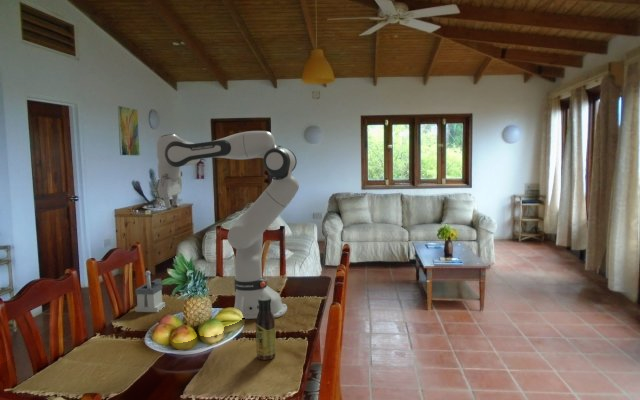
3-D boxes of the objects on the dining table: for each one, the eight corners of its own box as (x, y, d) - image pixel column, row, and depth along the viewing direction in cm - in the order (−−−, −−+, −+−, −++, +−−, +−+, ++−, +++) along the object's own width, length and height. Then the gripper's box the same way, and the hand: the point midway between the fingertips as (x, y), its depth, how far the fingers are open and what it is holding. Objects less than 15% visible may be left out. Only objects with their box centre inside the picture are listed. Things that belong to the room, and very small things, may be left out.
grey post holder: (165, 306, 200) (162, 268, 198) (157, 312, 193) (154, 273, 191) (144, 306, 201) (141, 268, 199) (135, 311, 194) (132, 272, 192)
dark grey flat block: (167, 285, 204) (167, 278, 204) (153, 294, 192) (152, 287, 191) (151, 285, 206) (150, 278, 205) (135, 294, 193) (135, 287, 193)
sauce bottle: (255, 354, 149) (252, 296, 147) (273, 351, 152) (270, 293, 149) (259, 362, 143) (256, 302, 141) (278, 359, 146) (276, 299, 143)
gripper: (169, 174, 180) (171, 209, 181) (183, 172, 200) (185, 203, 201) (153, 175, 179) (155, 209, 181) (169, 172, 200) (171, 203, 201)
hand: (171, 206), depth 191 cm, fingers open, 8 cm apart
